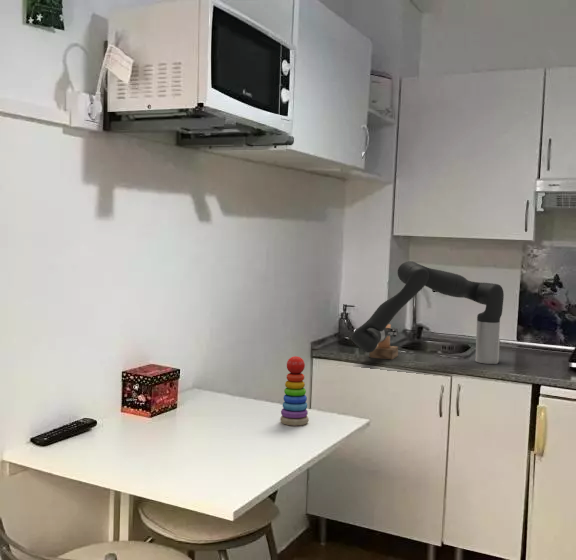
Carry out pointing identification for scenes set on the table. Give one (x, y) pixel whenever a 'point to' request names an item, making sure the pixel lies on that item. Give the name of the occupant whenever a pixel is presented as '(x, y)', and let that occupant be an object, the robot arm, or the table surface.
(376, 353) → the base
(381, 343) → the orange tan block
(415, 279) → the robot arm
